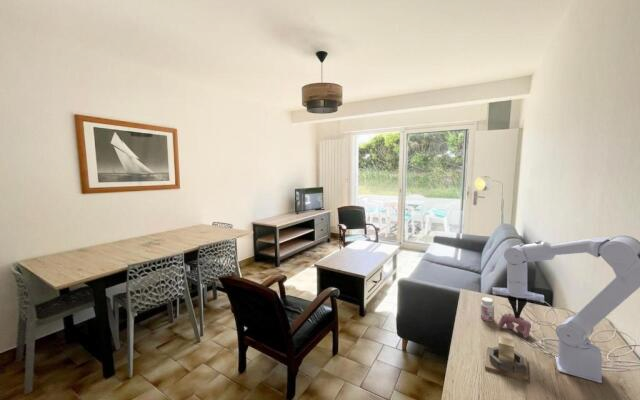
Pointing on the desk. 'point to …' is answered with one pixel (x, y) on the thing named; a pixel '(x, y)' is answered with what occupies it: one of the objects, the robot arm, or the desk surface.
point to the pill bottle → (487, 309)
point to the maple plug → (506, 350)
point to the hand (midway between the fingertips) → (517, 316)
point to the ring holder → (507, 365)
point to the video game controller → (510, 319)
